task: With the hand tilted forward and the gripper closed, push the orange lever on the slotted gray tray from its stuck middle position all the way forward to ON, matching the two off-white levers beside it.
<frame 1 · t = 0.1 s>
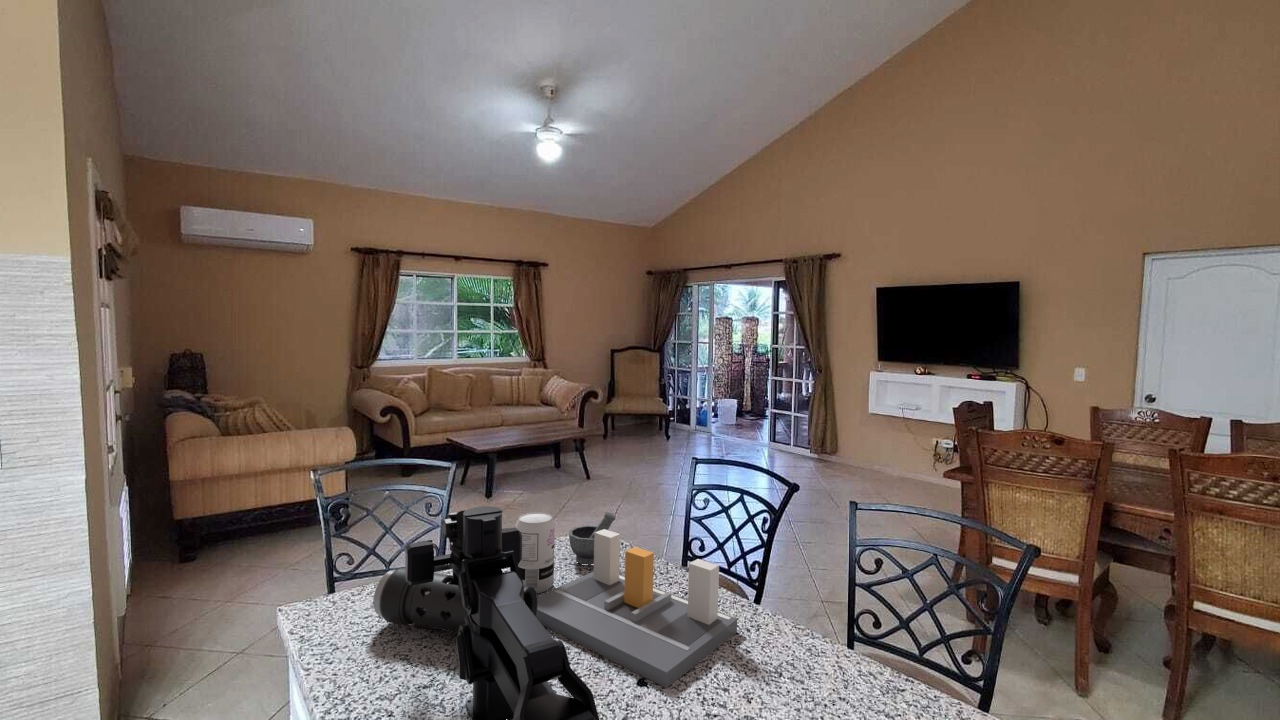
hand: (454, 539, 101), 17 cm above the countertop, tool horizontal, fingers open, 9 cm apart
mortar and pestle: (591, 561, 134), on the countertop
supplement can: (534, 587, 120), on the countertop
slotted gray tray: (627, 623, 105), on the countertop
muzzle brake: (454, 634, 100), on the countertop
tripped lever: (639, 577, 107), point 8 cm above the countertop, slide at 0.0 cm
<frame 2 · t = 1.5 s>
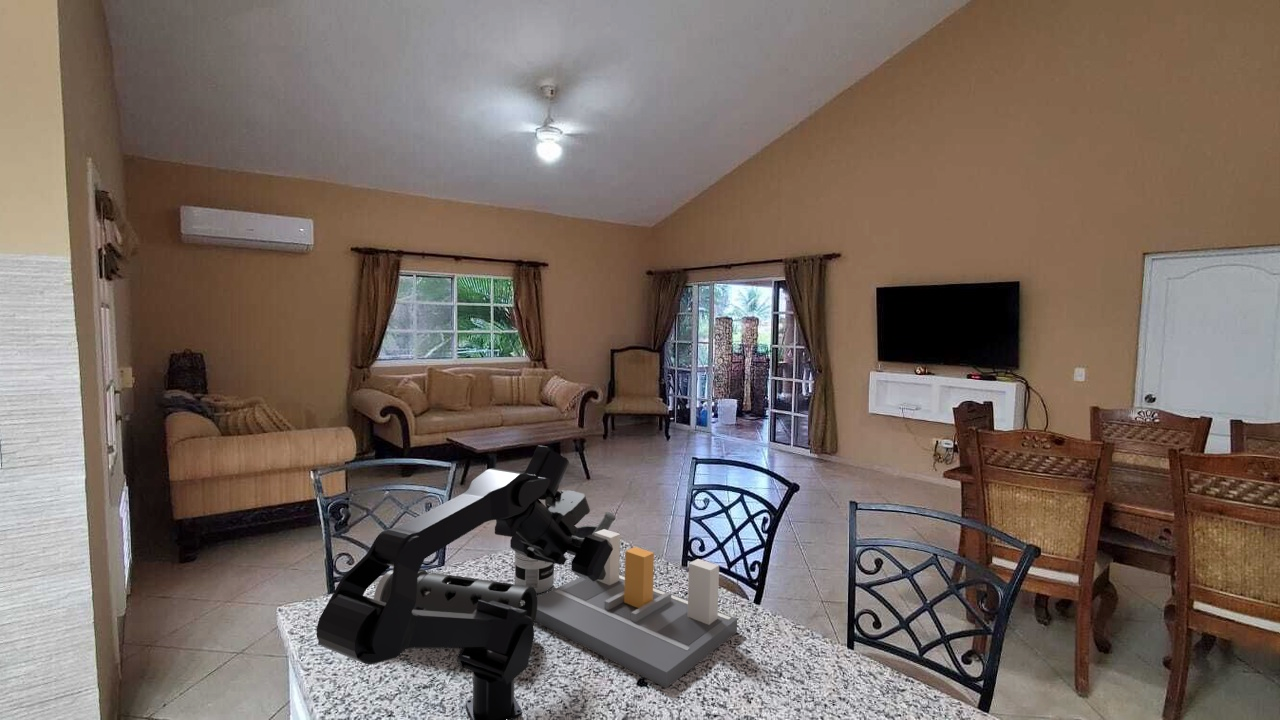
hand: (583, 569, 96), 14 cm above the countertop, tool tilted 45°, fingers open, 9 cm apart
nothing on the countertop moved.
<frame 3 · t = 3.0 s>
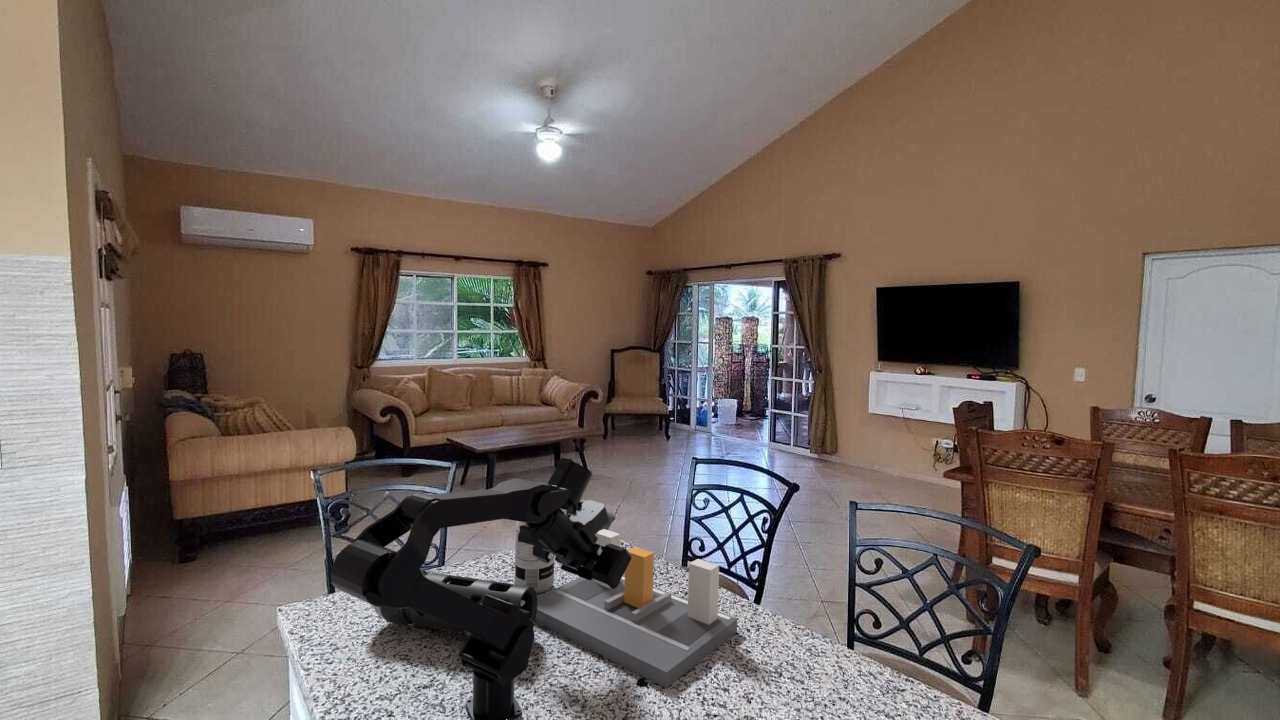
hand: (602, 577, 99), 11 cm above the countertop, tool tilted 45°, fingers closed
nothing on the countertop moved.
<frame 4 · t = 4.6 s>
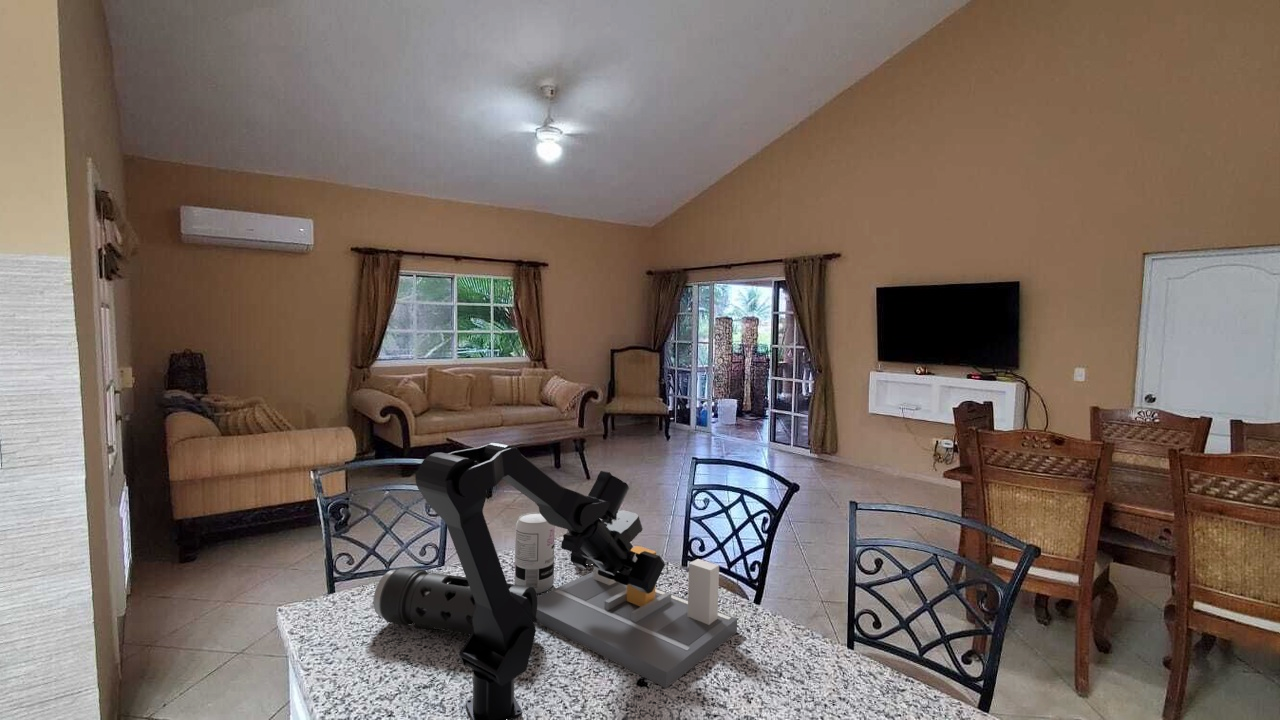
hand: (635, 581, 106), 7 cm above the countertop, tool tilted 45°, fingers closed, pressing on tripped lever
tripped lever: (641, 576, 108), point 8 cm above the countertop, slide at 0.8 cm, touching gripper
everything else where it was.
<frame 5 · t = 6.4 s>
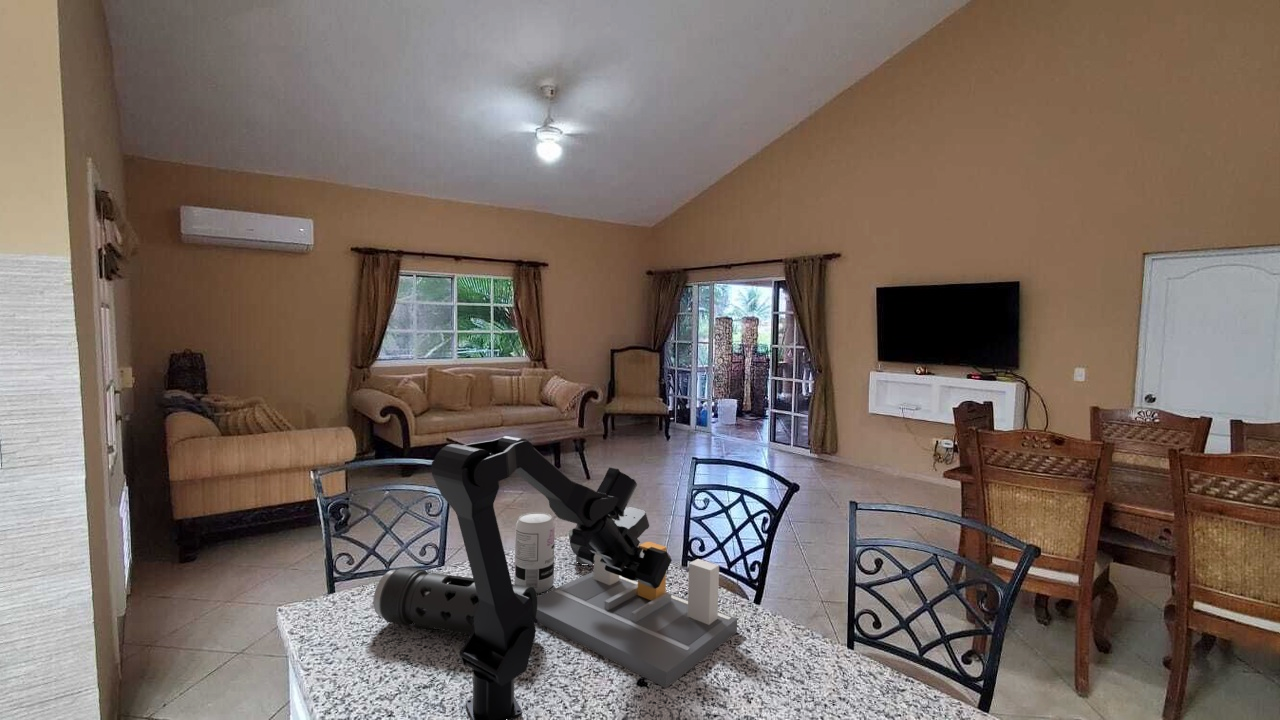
hand: (641, 578, 108), 7 cm above the countertop, tool tilted 45°, fingers closed
tripped lever: (652, 571, 110), point 8 cm above the countertop, slide at 4.1 cm
everything else where it was.
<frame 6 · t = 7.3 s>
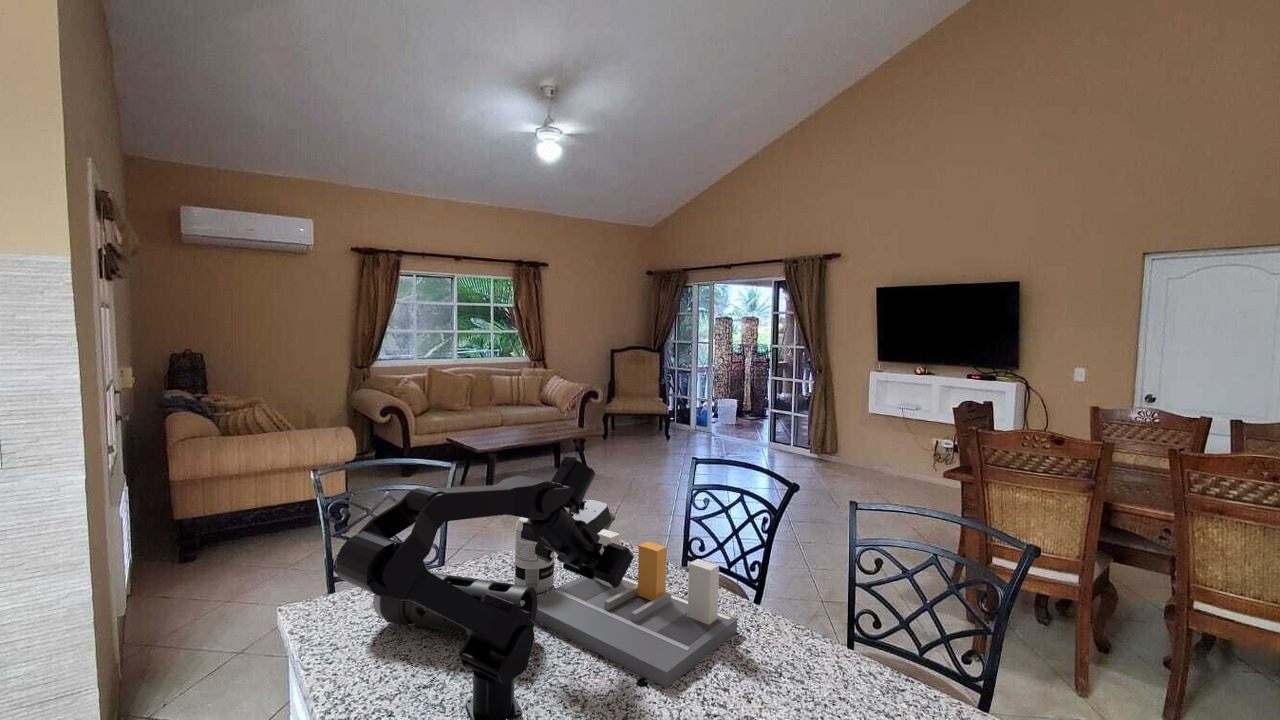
hand: (604, 577, 99), 11 cm above the countertop, tool tilted 45°, fingers closed
nothing on the countertop moved.
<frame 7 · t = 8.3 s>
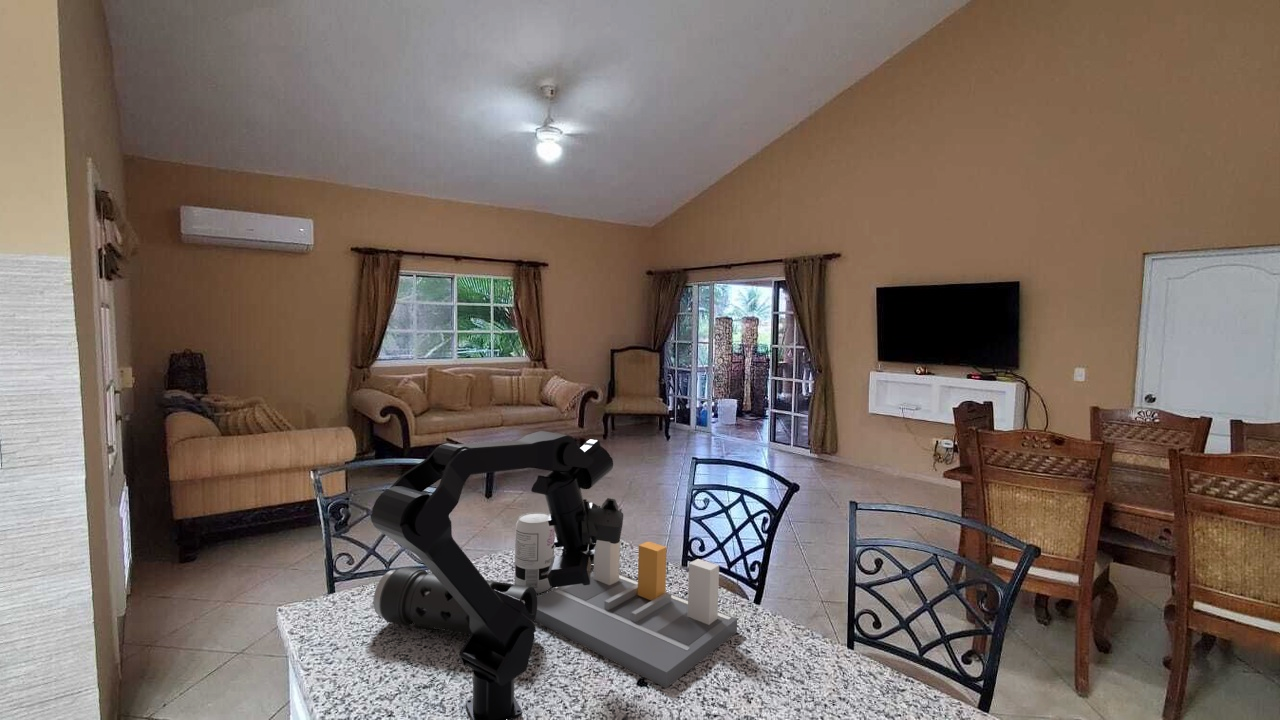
hand: (587, 583, 95), 12 cm above the countertop, tool tilted 20°, fingers closed
nothing on the countertop moved.
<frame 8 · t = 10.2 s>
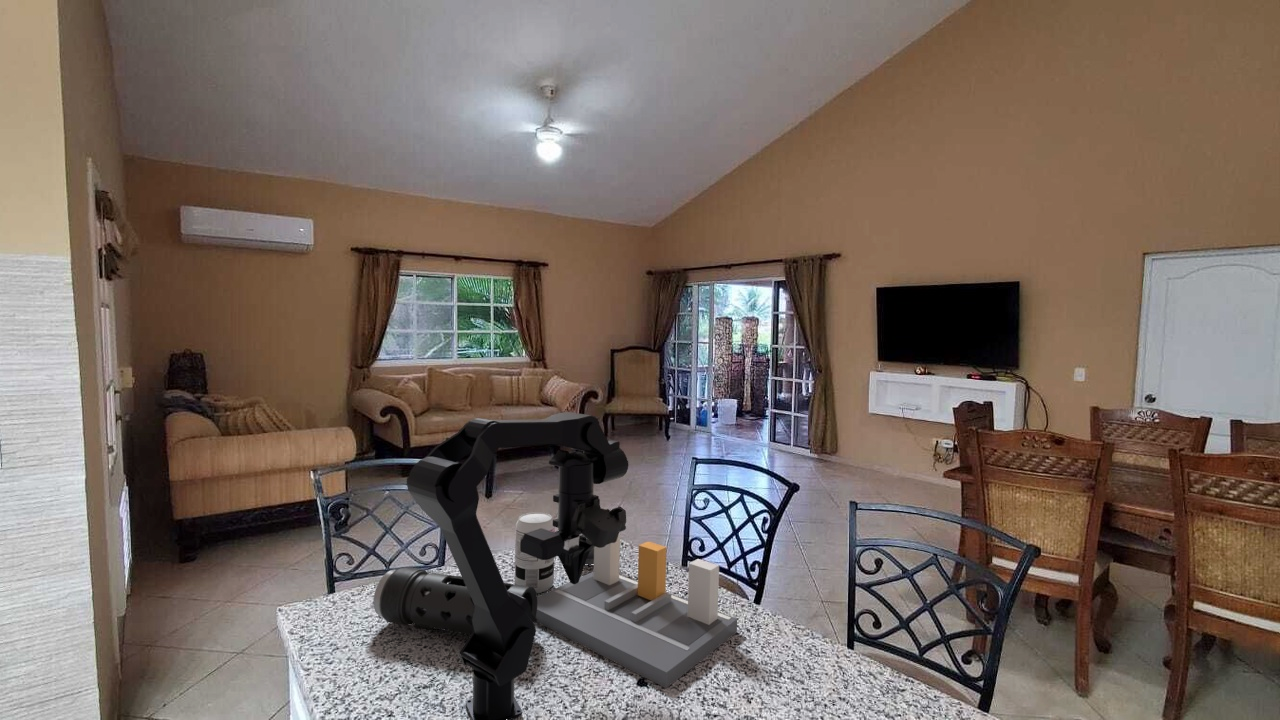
hand: (574, 583, 92), 13 cm above the countertop, tool pointing down, fingers closed
nothing on the countertop moved.
at the end: tripped lever slide at 4.1 cm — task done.
